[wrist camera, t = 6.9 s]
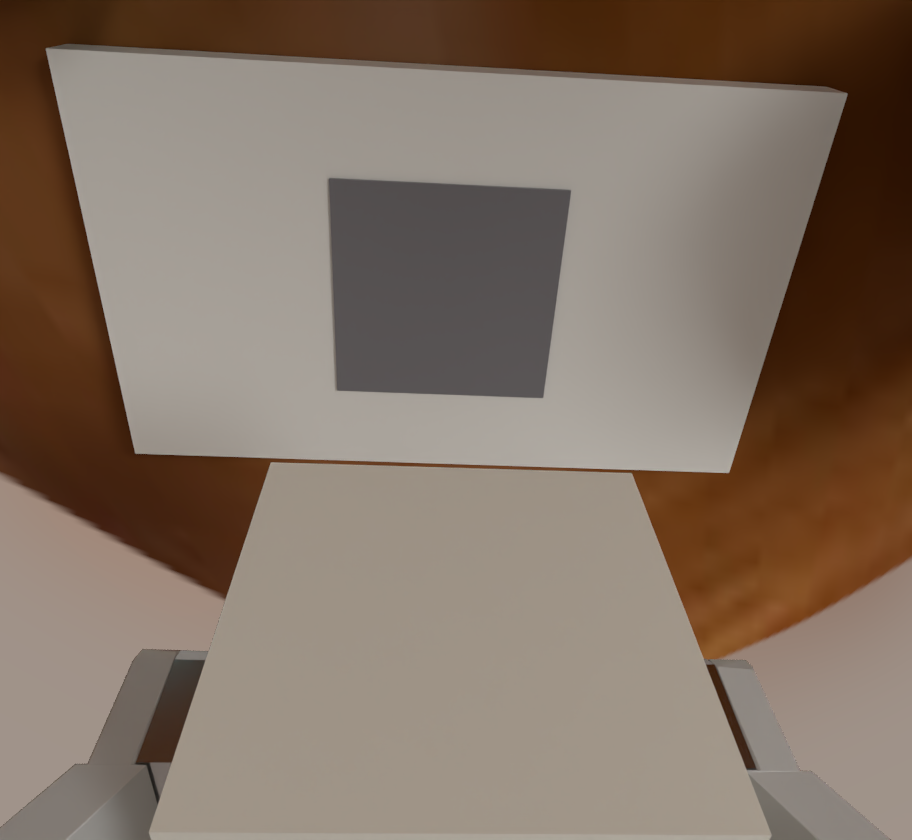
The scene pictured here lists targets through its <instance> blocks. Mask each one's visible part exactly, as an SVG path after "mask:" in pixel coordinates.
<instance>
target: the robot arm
mask: <svg viewBox="0 0 912 840" xmlns="http://www.w3.org/2000/svg"><path fill="white" fill-rule="evenodd" d="M207 654H208V651H187V650H152V649H151V650H150V649H142V650H141V651H140V653H139V654H138V655H137V656H136V657H135V659H134V660H133V661H132V664H131V666H130V668H129V671H128V673H127V675H126V677H125V680H124V682H123V684H122V686H121V689H120V691H119V693H118V695H117V698H116V700H115V702H114V705H113V707H112V709H111V711H110V714H109V716H108V718H107V720H106V723H105V725H104V727H103V730H102V732H101V734H100V736H99V739H98V741H97V743H96V745H95V748H94V750H93V752H92V755H91V757H90V759H89V761H88V764H75V765H74V766H72V767H71V768H70V769H69V770H68V771H67V772H65V773H64V774H63V775H62V776H61V777H59V778H58V779H57V780H56V781H55V782H53V783H52V784H51V785H50V786H49V787H47V789H45V790H44V791H43V792H42V793H40V794H39V795H38V796H37V797H36V798H35V799H33V800H32V801H31V802H30V803H29V804H27V805H26V806H25V807H24V808H23V809H21V810H20V811H19V812H18V813H17V814H16V815H15V816H14V817H12V818H11V819H10V820H9V821H7V822H6V823H5V824H4V825H3V826H1V827H0V840H151V838H150V835H149V830H150V827H151V824H152V821H153V818H154V815H155V812H156V809H157V806H158V803H159V800H160V797H161V794H162V791H163V788H164V785H165V781H166V778H167V775H168V772H169V769H170V766H171V763H172V760H173V757H174V754H175V751H176V748H177V745H178V742H179V739H180V736H181V733H182V730H183V727H184V724H185V721H186V718H187V715H188V712H189V709H190V706H191V703H192V700H193V697H194V694H195V691H196V688H197V685H198V682H199V679H200V675H201V672H202V669H203V666H204V663H205V660H206V657H207ZM704 661H705V664H706V666H707V669H708V672H709V674H710V677H711V679H712V682H713V685H714V687H715V690H716V692H717V695H718V697H719V700H720V703H721V705H722V708H723V710H724V713H725V716H726V718H727V721H728V723H729V726H730V728H731V731H732V734H733V736H734V739H735V741H736V744H737V747H738V749H739V752H740V754H741V757H742V759H743V762H744V765H745V767H746V770H747V772H748V775H749V778H750V780H751V783H752V785H753V788H754V791H755V793H756V796H757V798H758V801H759V803H760V806H761V809H762V811H763V814H764V816H765V819H766V822H767V824H768V827H769V829H770V832H771V834H772V836H771V838H770V840H891V839H889V838H888V837H887V836H886V835H885V834H884V833H883V832H881V831H880V830H879V829H878V828H877V827H876V826H874V825H873V824H872V823H871V822H870V821H869V820H868V819H866V818H865V817H864V816H863V815H862V814H860V812H858V811H857V810H856V809H855V808H854V807H853V806H851V805H850V804H849V803H848V802H847V801H846V800H844V799H843V798H842V797H841V796H840V795H839V794H837V793H836V792H835V791H834V790H833V789H832V788H831V787H829V786H828V785H827V784H826V783H825V782H824V781H823V780H822V779H820V778H819V777H818V776H817V775H816V774H815V773H813V772H812V771H801V770H800V768H799V766H798V764H797V762H796V760H795V758H794V755H793V753H792V751H791V749H790V747H789V745H788V743H787V740H786V738H785V736H784V734H783V732H782V729H781V727H780V725H779V723H778V721H777V719H776V717H775V714H774V712H773V710H772V708H771V706H770V703H769V701H768V699H767V697H766V695H765V693H764V690H763V688H762V686H761V684H760V682H759V680H758V677H757V675H756V673H755V671H754V669H753V667H752V666H751V665H750V664H749V663H748V662H747V661H746V660H713V659H710V660H706V659H704Z"/></svg>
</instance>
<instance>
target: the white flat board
mask: <svg viewBox="0 0 912 840" xmlns="http://www.w3.org/2000/svg"><path fill="white" fill-rule="evenodd" d="M46 53H47V57H48V62H49V66H50V71H51V76H52V80H53V85H54V89H55V94H56V98H57V103H58V107H59V112H60V116H61V121H62V125H63V130H64V134H65V139H66V143H67V148H68V152H69V157H70V161H71V166H72V170H73V175H74V179H75V184H76V189H77V193H78V198H79V202H80V207H81V211H82V216H83V220H84V225H85V229H86V234H87V238H88V243H89V247H90V252H91V256H92V261H93V265H94V270H95V274H96V279H97V283H98V288H99V292H100V297H101V301H102V306H103V311H104V315H105V320H106V324H107V329H108V333H109V338H110V342H111V347H112V351H113V356H114V360H115V365H116V369H117V374H118V378H119V383H120V387H121V392H122V396H123V401H124V405H125V410H126V414H127V419H128V424H129V428H130V433H131V437H132V442H133V446H134V451H135V454H160V455H191V456H222V457H253V458H283V459H314V460H345V461H376V462H406V463H437V464H468V465H499V466H530V467H560V468H591V469H622V470H653V471H683V472H714V473H729V472H730V468H731V465H732V462H733V459H734V456H735V452H736V449H737V446H738V443H739V440H740V436H741V433H742V430H743V427H744V424H745V420H746V417H747V414H748V411H749V408H750V404H751V401H752V398H753V395H754V392H755V389H756V385H757V382H758V379H759V376H760V373H761V369H762V366H763V363H764V360H765V357H766V353H767V350H768V347H769V344H770V341H771V337H772V334H773V331H774V328H775V325H776V321H777V318H778V315H779V312H780V309H781V306H782V302H783V299H784V296H785V293H786V290H787V286H788V283H789V280H790V277H791V274H792V270H793V267H794V264H795V261H796V258H797V254H798V251H799V248H800V245H801V242H802V238H803V235H804V232H805V229H806V226H807V223H808V219H809V216H810V213H811V210H812V207H813V203H814V200H815V197H816V194H817V191H818V187H819V184H820V181H821V178H822V175H823V171H824V168H825V165H826V162H827V159H828V156H829V152H830V149H831V146H832V143H833V140H834V136H835V133H836V130H837V127H838V124H839V120H840V117H841V114H842V111H843V108H844V104H845V101H846V98H847V95H848V93H845V92H842V91H839V90H836V89H833V88H830V87H825V86H808V85H790V84H772V83H755V82H737V81H719V80H702V79H684V78H666V77H648V76H631V75H613V74H595V73H578V72H560V71H542V70H525V69H507V68H489V67H472V66H454V65H436V64H419V63H401V62H383V61H365V60H348V59H330V58H312V57H295V56H277V55H259V54H242V53H224V52H206V51H189V50H171V49H153V48H136V47H118V46H100V45H82V44H63V45H58V46H54V47H49V48H46Z"/></svg>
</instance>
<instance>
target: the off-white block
mask: <svg viewBox="0 0 912 840" xmlns="http://www.w3.org/2000/svg"><path fill="white" fill-rule="evenodd" d="M149 835H150V838H151V840H770V838H771V836H772V834H771V832H770V829H769V827H768V824H767V822H766V819H765V816H764V814H763V811H762V809H761V806H760V803H759V801H758V798H757V796H756V793H755V791H754V788H753V785H752V783H751V780H750V778H749V775H748V772H747V770H746V767H745V765H744V762H743V759H742V757H741V754H740V752H739V749H738V747H737V744H736V741H735V739H734V736H733V734H732V731H731V728H730V726H729V723H728V721H727V718H726V716H725V713H724V710H723V708H722V705H721V703H720V700H719V697H718V695H717V692H716V690H715V687H714V685H713V682H712V679H711V677H710V674H709V672H708V669H707V666H706V664H705V661H704V659H703V656H702V654H701V651H700V648H699V646H698V643H697V641H696V638H695V635H694V633H693V630H692V628H691V625H690V622H689V620H688V617H687V615H686V612H685V610H684V607H683V604H682V602H681V599H680V597H679V594H678V591H677V589H676V586H675V584H674V581H673V579H672V576H671V573H670V571H669V568H668V566H667V563H666V560H665V558H664V555H663V553H662V550H661V548H660V545H659V542H658V540H657V537H656V535H655V532H654V529H653V527H652V524H651V522H650V519H649V516H648V514H647V511H646V509H645V506H644V504H643V501H642V498H641V496H640V493H639V491H638V488H637V485H636V483H635V480H634V478H633V475H632V473H611V472H577V471H544V470H510V469H477V468H443V467H410V466H376V465H343V464H309V463H276V462H271V463H270V467H269V470H268V473H267V476H266V479H265V482H264V485H263V488H262V491H261V494H260V497H259V500H258V503H257V506H256V509H255V512H254V515H253V518H252V521H251V524H250V527H249V530H248V533H247V536H246V539H245V542H244V545H243V548H242V551H241V554H240V557H239V560H238V563H237V566H236V569H235V573H234V576H233V579H232V582H231V585H230V588H229V591H228V594H227V597H226V600H225V603H224V606H223V609H222V612H221V615H220V618H219V621H218V624H217V627H216V630H215V633H214V636H213V639H212V642H211V645H210V648H209V651H208V654H207V657H206V660H205V663H204V666H203V669H202V672H201V675H200V679H199V682H198V685H197V688H196V691H195V694H194V697H193V700H192V703H191V706H190V709H189V712H188V715H187V718H186V721H185V724H184V727H183V730H182V733H181V736H180V739H179V742H178V745H177V748H176V751H175V754H174V757H173V760H172V763H171V766H170V769H169V772H168V775H167V778H166V781H165V785H164V788H163V791H162V794H161V797H160V800H159V803H158V806H157V809H156V812H155V815H154V818H153V821H152V824H151V827H150V830H149Z"/></svg>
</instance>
